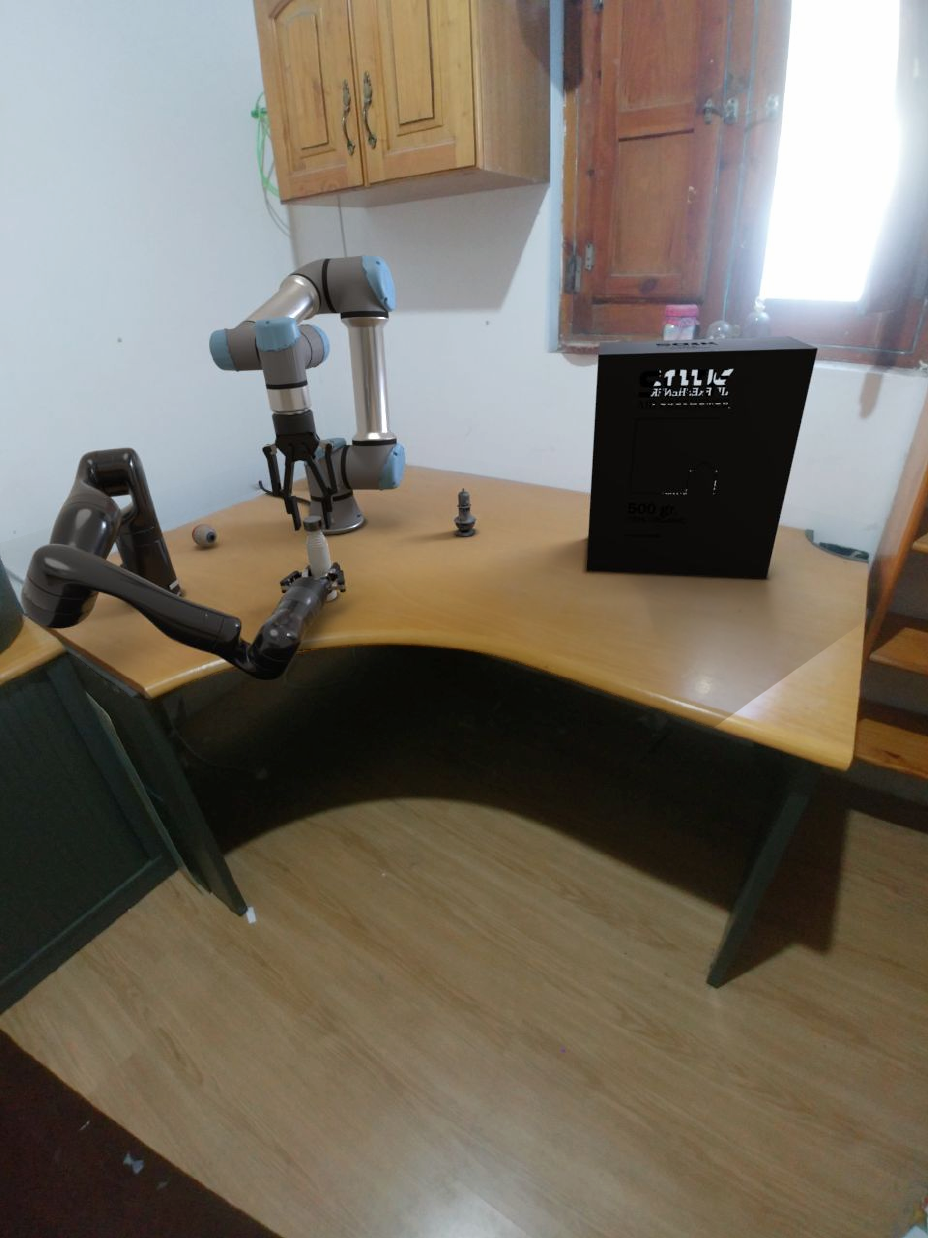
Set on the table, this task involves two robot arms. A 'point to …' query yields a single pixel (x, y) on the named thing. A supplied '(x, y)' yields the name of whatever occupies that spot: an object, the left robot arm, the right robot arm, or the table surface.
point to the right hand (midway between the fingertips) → (313, 527)
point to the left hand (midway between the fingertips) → (325, 566)
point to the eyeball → (204, 535)
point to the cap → (312, 523)
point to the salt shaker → (464, 515)
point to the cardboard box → (694, 454)
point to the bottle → (319, 556)
